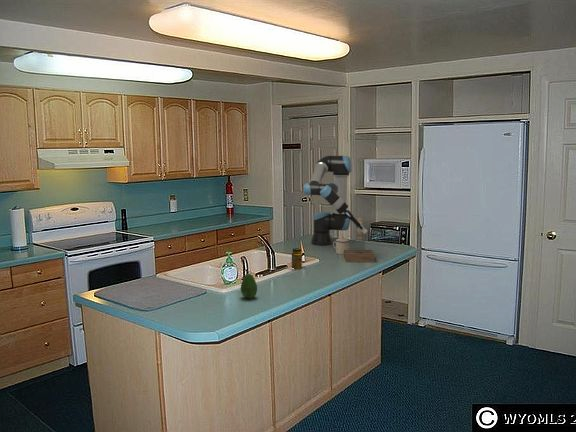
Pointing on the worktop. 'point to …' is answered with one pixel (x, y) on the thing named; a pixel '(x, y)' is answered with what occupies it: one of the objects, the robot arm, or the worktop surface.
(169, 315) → the worktop surface
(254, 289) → the avocado
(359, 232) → the birch pin
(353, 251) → the walnut hole block
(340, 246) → the teacup with lid
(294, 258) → the condiment
